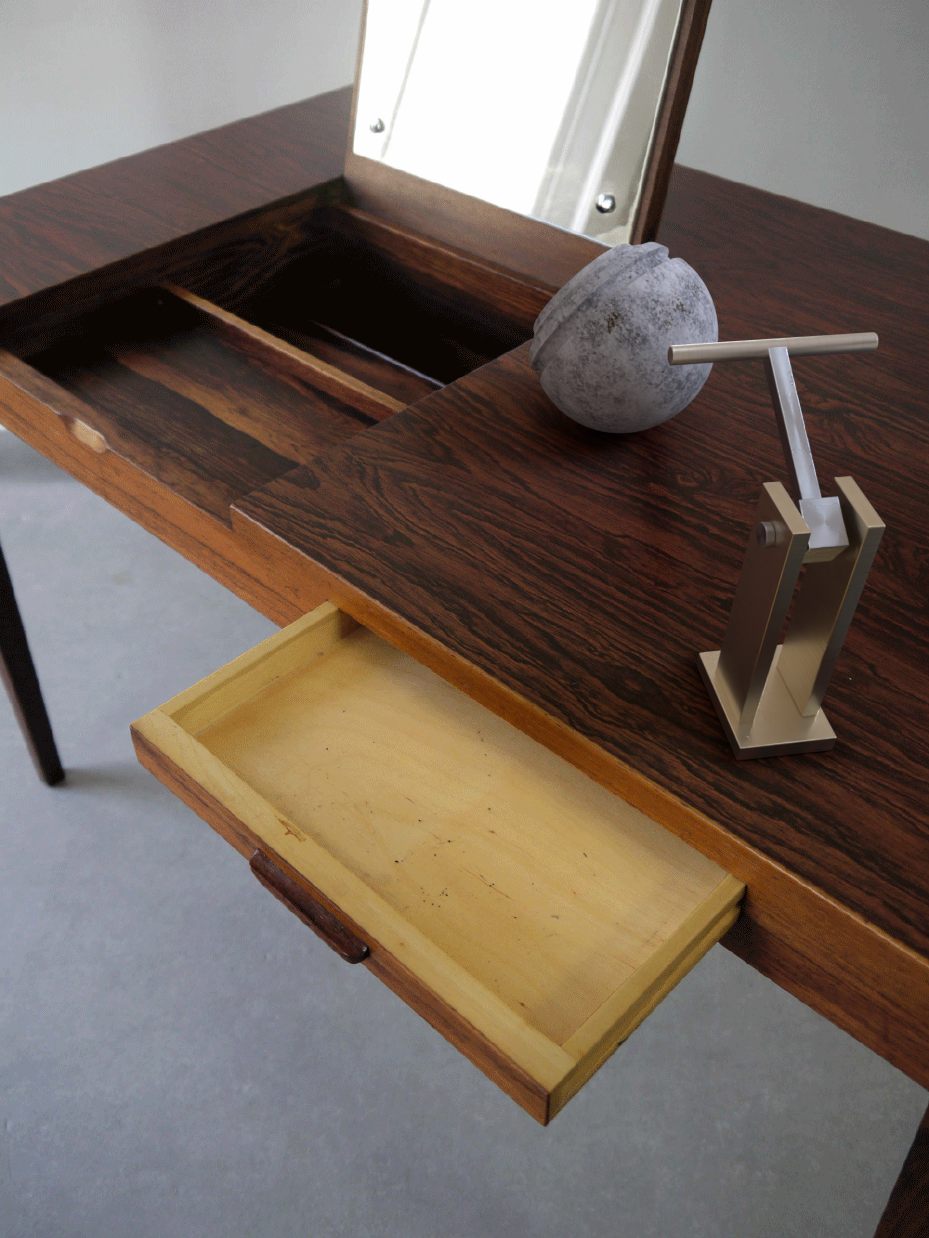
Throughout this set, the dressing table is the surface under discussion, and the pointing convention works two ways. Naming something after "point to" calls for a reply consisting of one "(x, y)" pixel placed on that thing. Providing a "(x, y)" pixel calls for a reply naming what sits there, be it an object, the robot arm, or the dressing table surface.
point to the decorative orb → (624, 339)
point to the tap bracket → (802, 666)
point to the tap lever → (791, 420)
